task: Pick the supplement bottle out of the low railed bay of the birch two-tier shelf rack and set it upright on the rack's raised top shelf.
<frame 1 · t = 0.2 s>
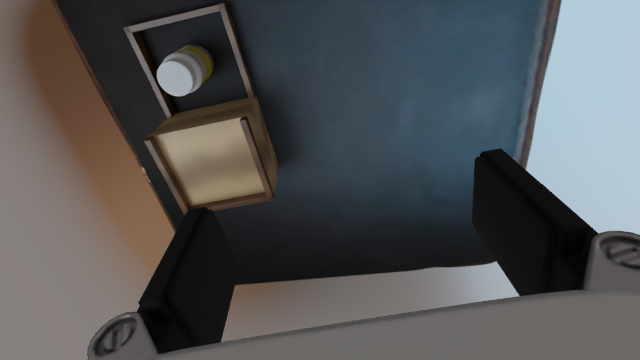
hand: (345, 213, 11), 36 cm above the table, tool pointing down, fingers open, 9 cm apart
supplement bottle: (197, 62, 43), resting in shelf rack
shelf rack: (213, 105, 46), on the table
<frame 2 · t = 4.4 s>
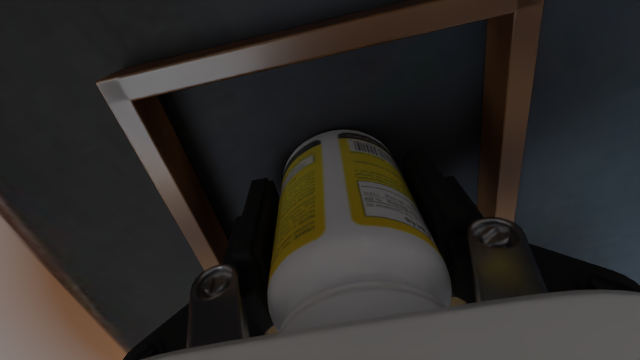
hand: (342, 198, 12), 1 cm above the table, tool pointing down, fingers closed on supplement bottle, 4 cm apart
supplement bottle: (339, 176, 14), resting in shelf rack, touching gripper
shelf rack: (360, 275, 17), on the table
when the fingers open (9 cm above the table, at t = 10.2 s): supplement bottle stays where it is, resting on shelf rack.
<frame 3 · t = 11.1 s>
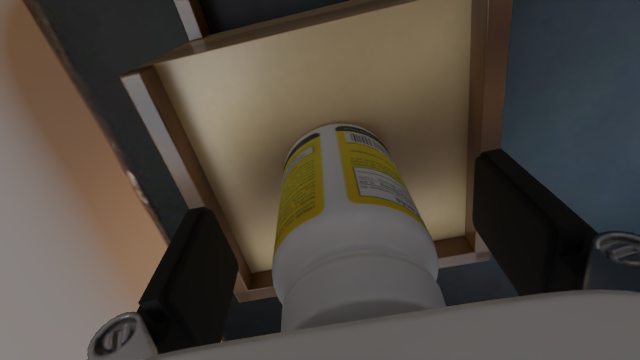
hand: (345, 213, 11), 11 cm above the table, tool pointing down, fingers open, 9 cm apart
supplement bottle: (337, 168, 14), point 8 cm above the table, touching shelf rack
shelf rack: (307, 10, 18), on the table
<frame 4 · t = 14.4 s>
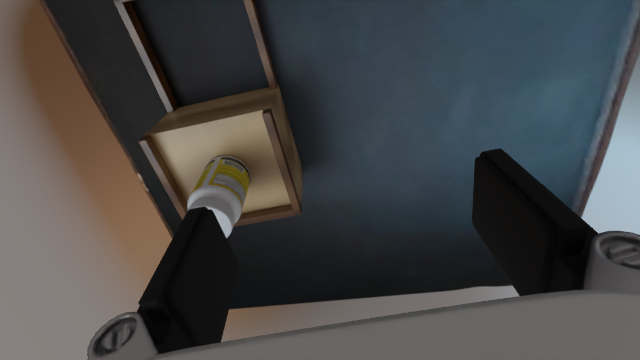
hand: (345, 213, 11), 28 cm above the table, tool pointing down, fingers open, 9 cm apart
supplement bottle: (229, 173, 34), point 8 cm above the table, touching shelf rack
shelf rack: (224, 96, 38), on the table
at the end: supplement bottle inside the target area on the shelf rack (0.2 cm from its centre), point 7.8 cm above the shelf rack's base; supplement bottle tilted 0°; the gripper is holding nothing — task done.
